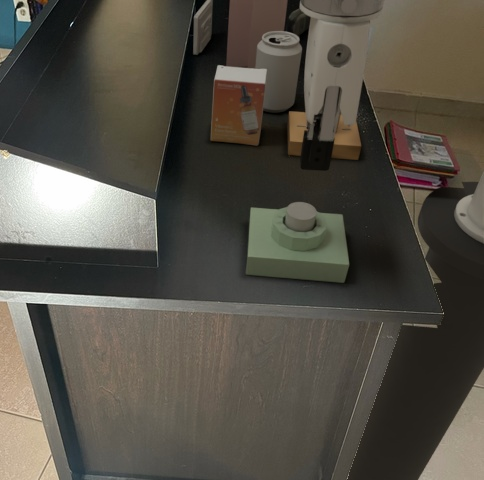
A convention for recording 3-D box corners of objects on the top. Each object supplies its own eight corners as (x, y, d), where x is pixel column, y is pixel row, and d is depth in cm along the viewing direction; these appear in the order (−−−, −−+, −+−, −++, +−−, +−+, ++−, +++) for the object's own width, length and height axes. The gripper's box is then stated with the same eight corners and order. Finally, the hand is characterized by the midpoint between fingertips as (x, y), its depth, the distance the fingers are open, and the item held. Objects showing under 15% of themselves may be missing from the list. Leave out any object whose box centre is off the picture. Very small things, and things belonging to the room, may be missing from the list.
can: (247, 96, 106) (253, 29, 97) (286, 94, 107) (295, 27, 98) (257, 116, 100) (265, 46, 92) (299, 113, 101) (309, 44, 93)
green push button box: (338, 232, 77) (345, 201, 74) (344, 283, 70) (353, 251, 66) (248, 225, 78) (252, 194, 74) (245, 274, 71) (249, 243, 67)
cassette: (199, 56, 119) (200, 17, 113) (190, 55, 119) (191, 16, 114) (213, 35, 127) (215, -2, 122) (205, 34, 127) (206, -3, 122)
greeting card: (278, 61, 117) (287, -19, 107) (291, 76, 112) (303, -7, 102) (224, 66, 115) (229, -15, 105) (236, 82, 110) (242, -2, 100)
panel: (352, 129, 98) (355, 114, 96) (358, 160, 90) (361, 145, 89) (287, 124, 98) (289, 110, 97) (287, 155, 91) (290, 140, 89)
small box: (209, 142, 94) (212, 79, 86) (213, 125, 98) (216, 63, 90) (259, 146, 93) (266, 83, 86) (261, 129, 97) (267, 67, 90)
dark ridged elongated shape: (305, -1, 131) (283, 18, 121) (318, 1, 130) (296, 20, 120) (302, 22, 134) (280, 42, 124) (314, 24, 133) (293, 45, 123)
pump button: (313, 216, 72) (316, 202, 70) (314, 234, 69) (317, 220, 68) (284, 214, 72) (286, 200, 71) (284, 231, 70) (286, 218, 68)
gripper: (397, 23, 47) (353, 207, 60) (375, -31, 58) (342, 135, 70) (304, 20, 47) (280, 203, 60) (299, -34, 58) (280, 131, 71)
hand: (314, 166), depth 65 cm, fingers closed
